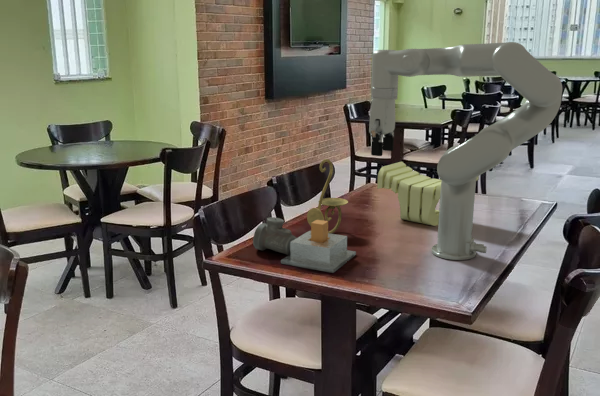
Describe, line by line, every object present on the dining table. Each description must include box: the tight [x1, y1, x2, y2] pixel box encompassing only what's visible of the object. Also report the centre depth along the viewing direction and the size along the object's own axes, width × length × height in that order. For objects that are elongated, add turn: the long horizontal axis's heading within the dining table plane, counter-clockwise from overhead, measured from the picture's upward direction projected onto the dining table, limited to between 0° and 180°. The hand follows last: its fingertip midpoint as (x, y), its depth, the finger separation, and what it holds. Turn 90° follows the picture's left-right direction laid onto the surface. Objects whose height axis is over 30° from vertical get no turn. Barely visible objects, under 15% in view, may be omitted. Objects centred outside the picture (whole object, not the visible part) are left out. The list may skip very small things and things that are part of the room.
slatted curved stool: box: [377, 161, 480, 227], centre depth 202 cm, size 30×16×18 cm, turn 49°
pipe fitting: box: [252, 216, 297, 256], centre depth 170 cm, size 12×8×10 cm, turn 60°
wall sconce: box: [306, 158, 349, 234], centre depth 184 cm, size 14×10×25 cm
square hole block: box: [280, 230, 357, 274], centre depth 165 cm, size 16×16×6 cm
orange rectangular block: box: [310, 220, 329, 243], centre depth 164 cm, size 4×4×10 cm
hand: (382, 153), depth 171 cm, fingers open, 9 cm apart
